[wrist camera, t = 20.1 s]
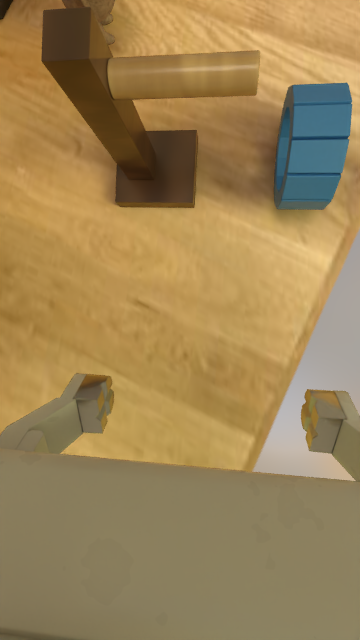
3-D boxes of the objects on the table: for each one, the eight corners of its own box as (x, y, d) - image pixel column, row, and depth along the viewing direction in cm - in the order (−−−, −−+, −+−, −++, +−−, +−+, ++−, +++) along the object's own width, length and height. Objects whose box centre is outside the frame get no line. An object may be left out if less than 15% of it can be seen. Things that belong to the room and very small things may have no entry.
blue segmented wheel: (271, 219, 38) (289, 185, 27) (277, 126, 37) (297, 55, 27) (313, 220, 37) (346, 185, 27) (319, 125, 37) (355, 52, 26)
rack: (119, 207, 40) (16, 104, 20) (123, 139, 40) (20, -32, 20) (242, 208, 38) (260, 96, 18) (246, 137, 38) (269, -55, 18)
